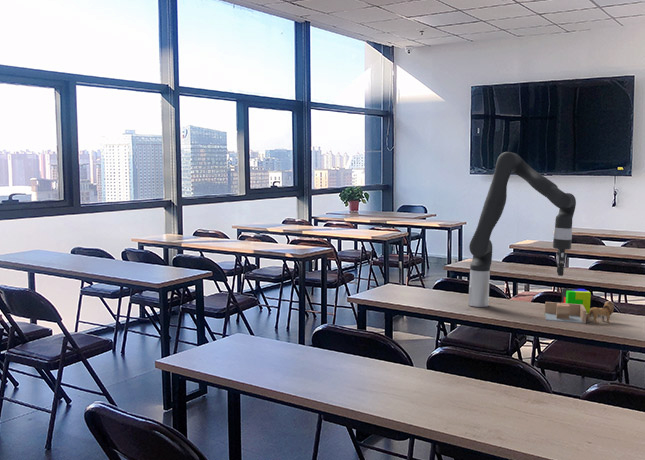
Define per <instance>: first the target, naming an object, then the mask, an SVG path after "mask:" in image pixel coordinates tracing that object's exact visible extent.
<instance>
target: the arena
mask: <svg viewBox="0 0 645 460" xmlns="http://www.w3.org/2000/svg"><path fill="white" fill-rule="evenodd" d="M557 303H558V302H552V301H545V303H544V316H545V321H550V322H551V321H553V322H565V323H577V324H578V323H579V324H586V323H587V322H586V318H587V314H586V309H585V308H584V306H583V305H582V304H569V306H570V309H569V320H568V319H557V318H556V309H557ZM564 304H568V303H564Z"/></svg>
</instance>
